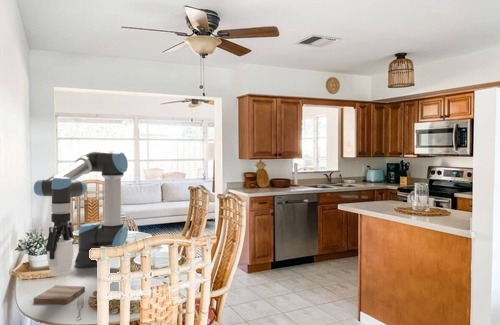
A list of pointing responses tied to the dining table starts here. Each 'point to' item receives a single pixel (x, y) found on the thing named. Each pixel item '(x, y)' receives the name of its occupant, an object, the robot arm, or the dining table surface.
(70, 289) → the board
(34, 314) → the dining table surface
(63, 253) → the jar
